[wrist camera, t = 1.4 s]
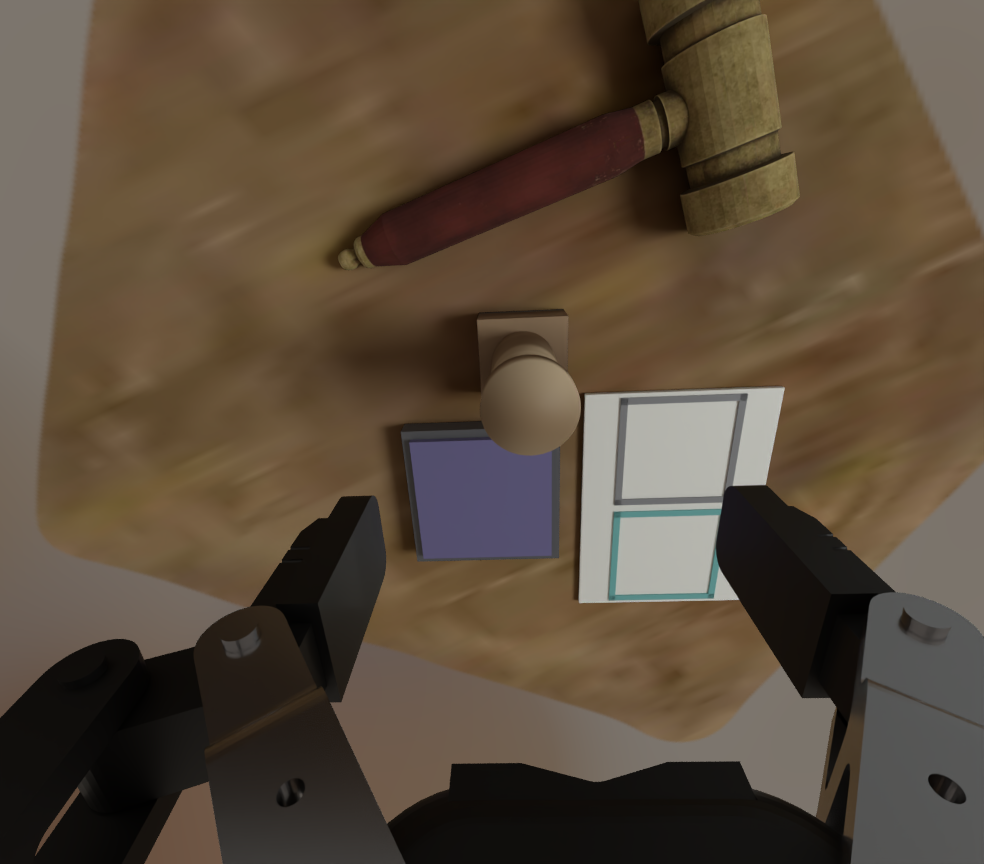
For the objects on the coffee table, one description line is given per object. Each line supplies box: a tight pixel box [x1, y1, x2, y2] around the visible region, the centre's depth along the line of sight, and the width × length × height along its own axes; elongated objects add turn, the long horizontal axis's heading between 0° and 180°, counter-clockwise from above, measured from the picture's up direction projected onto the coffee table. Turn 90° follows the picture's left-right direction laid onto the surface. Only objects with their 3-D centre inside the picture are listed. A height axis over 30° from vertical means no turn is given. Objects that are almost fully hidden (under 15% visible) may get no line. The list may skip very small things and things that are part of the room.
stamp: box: [477, 309, 581, 456], centre depth 22 cm, size 4×4×9 cm
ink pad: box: [401, 421, 560, 561], centre depth 29 cm, size 9×9×2 cm
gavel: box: [338, 0, 800, 270], centre depth 22 cm, size 21×5×10 cm
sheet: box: [578, 386, 785, 603], centre depth 30 cm, size 15×11×1 cm
